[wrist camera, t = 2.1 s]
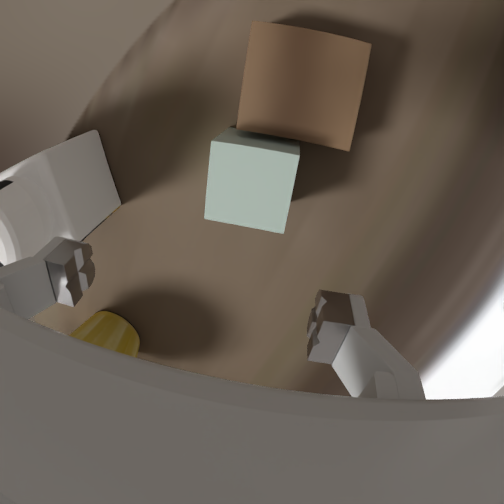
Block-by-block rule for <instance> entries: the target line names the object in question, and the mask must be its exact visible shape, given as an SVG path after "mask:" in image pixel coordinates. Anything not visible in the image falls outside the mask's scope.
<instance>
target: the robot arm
mask: <svg viewBox="0 0 504 504" xmlns="http://www.w3.org/2000/svg"><path fill="white" fill-rule="evenodd" d="M92 254H93V253H92V248H91V246H90V245H89V244H88V243H84V242H80V241H76V240H72V239H67V238H64V237H59V236H58V237H54V238H53V239H52V240H51V241H50V242H49V243H48V244H46V245H45V246H44V247H43V248H42V249H41V250H40V251H39V252H38V253H36V254H35V255H34V256H33V257H27V258H24V259H21V260H18V261H16V262H13V263H10V264H8V265H5V266H2V267H0V504H504V396H497V397H486V398H470V399H442V400H426V398H425V394H424V391H423V387H422V383H421V379H420V376H419V373H418V372H417V371H416V370H415V369H414V368H413V367H412V366H411V365H410V364H409V363H408V362H407V361H406V360H405V359H404V358H403V356H402V355H401V354H400V353H399V352H398V351H397V350H396V349H395V348H394V347H393V346H392V345H391V344H390V343H389V342H388V341H387V340H386V339H385V338H384V337H383V336H382V335H381V334H380V333H379V332H378V331H377V330H376V329H373V328H371V326H370V322H369V318H368V314H367V310H366V306H365V302H364V298H363V296H362V295H355V294H345V293H338V292H332V291H326V290H320V289H319V291H318V292H317V295H316V298H315V307H314V308H312V309H311V313H310V316H309V320H308V326H307V336H308V337H309V338H310V339H309V342H308V345H307V360H309V361H315V362H321V363H328V364H332V367H333V368H334V370H335V371H336V373H337V374H338V376H339V377H340V379H341V381H342V382H343V384H344V385H345V387H346V388H347V390H348V391H349V393H350V394H351V396H352V397H348V396H336V395H326V394H317V393H308V392H300V391H292V390H285V389H278V388H271V387H264V386H258V385H253V384H247V383H241V382H236V381H231V380H226V379H221V378H216V377H211V376H207V375H202V374H198V373H194V372H189V371H185V370H181V369H177V368H173V367H169V366H165V365H161V364H157V363H154V362H150V361H146V360H143V359H139V358H136V357H132V356H129V355H126V354H122V353H119V352H116V351H113V350H109V349H106V348H103V347H100V346H97V345H94V344H91V343H88V342H85V341H83V340H80V339H77V338H74V337H71V336H69V335H66V334H63V333H61V332H58V331H55V330H53V329H50V328H48V327H45V326H43V325H40V324H38V323H35V322H33V321H30V320H28V319H30V318H31V317H33V316H35V315H36V314H38V313H40V312H41V311H43V310H45V309H46V308H48V307H50V306H52V305H53V304H55V303H56V302H59V303H62V304H66V305H69V306H72V307H74V306H75V305H76V304H77V302H78V301H79V300H80V299H81V297H82V296H83V294H82V291H83V290H86V289H88V288H89V287H90V286H91V284H92V283H93V280H94V277H95V266H94V263H93V262H92V260H91V259H90V258H91V256H92Z"/></svg>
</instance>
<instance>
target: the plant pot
mask: <svg viewBox="0 0 504 504" xmlns="http://www.w3.org/2000/svg"><path fill="white" fill-rule="evenodd" d="M69 336H71V337H74V338H77V339H80V340H83V341H85V342H88V343H91V344H94V345H97V346H100V347H103V348H106V349H109V350H113V351H116V352H119V353H122V354H126V355H129V356H132V357H136V358H137V354H138V350H139V345H140V339H139V336H138V334H137V332H136V330H135V329H134V328H133V326H132V325H131V324H130V323H129V322H127V321H126V320H125V319H124V318H122V317H120V316H119V315H117V314H114V313H112V312H108V311H99V312H97V313H95V314H94V315H93V316H92V317H90V318H89V319H88V320H87V321H86V322H84V323H83V324H82V325H81V326H80V327H79V328H77V329H76V330H75V331H74V332H73V333H71V334H70V335H69Z"/></svg>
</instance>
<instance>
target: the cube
mask: <svg viewBox="0 0 504 504" xmlns="http://www.w3.org/2000/svg"><path fill="white" fill-rule="evenodd" d="M299 157H300V140H295V139H290V138H285V137H280V136H274V135H268V134H263V133H257V132H250V131H244V130H237V129H236V128H232V127H229V128H228V129H226V130H225V131H224V132H222V133H221V134H220V135H218V136H217V137H216V138H214V139H213V140H212V141H211V149H210V159H209V170H208V180H207V191H206V203H205V215H204V219H208V220H214V221H219V222H224V223H230V224H235V225H240V226H246V227H251V228H256V229H261V230H267V231H272V232H277V233H282V234H284V229H285V225H286V220H287V215H288V211H289V206H290V201H291V196H292V191H293V187H294V182H295V177H296V172H297V167H298V162H299Z"/></svg>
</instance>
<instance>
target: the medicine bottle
mask: <svg viewBox="0 0 504 504" xmlns="http://www.w3.org/2000/svg"><path fill="white" fill-rule="evenodd" d="M120 206H121V201H120V199H119V196H118V193H117V190H116V187H115V184H114V181H113V178H112V175H111V172H110V169H109V166H108V163H107V159H106V156H105V153H104V150H103V147H102V143H101V140H100V136H99V133H98V131H97V130H92V131H89V132H86V133H84V134H81V135H79V136H76V137H74V138H71V139H69V140H67V141H64V142H62V143H60V144H57V145H55V146H53V147H50V148H49V149H46V150H44V151H42V152H40V153H38V154H36V155H34V156H32V157H30V158H28V159H26V160H24V161H22V162H20V163H18V164H16V165H14V166H12V167H11V168H9V169H7V170H5V171H3V172H2V173H0V267H2V266H5V265H8V264H10V263H13V262H16V261H18V260H21V259H24V258H27V257H33V256H34V255H35V254H36V253H38V252H39V251H40V250H41V249H42V248H43V247H44V246H45V245H46V244H48V243H49V242H50V241H51V240H52V239H53V238H54V237H58V236H59V237H64V238H67V239H72V240H76V241H80V242H82V241H83V240H84V239H85V238H86V237H87V236H88V235H89V234H90V233H91V232H92V231H93V230H94V229H96V228H97V227H98V226H99V225H100V224H101V223H102V222H103V221H104V220H106V219H107V218H108V217H109V216H110V215H111V214H112V213H113V212H115V211H116V210H117V209H118V208H119V207H120Z"/></svg>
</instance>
